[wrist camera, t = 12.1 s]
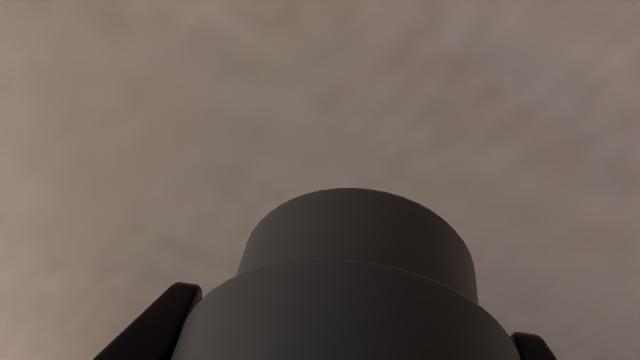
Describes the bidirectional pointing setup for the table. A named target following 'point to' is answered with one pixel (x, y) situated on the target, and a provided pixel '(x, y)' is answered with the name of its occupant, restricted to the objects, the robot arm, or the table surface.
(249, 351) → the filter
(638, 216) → the table surface
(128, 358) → the robot arm
